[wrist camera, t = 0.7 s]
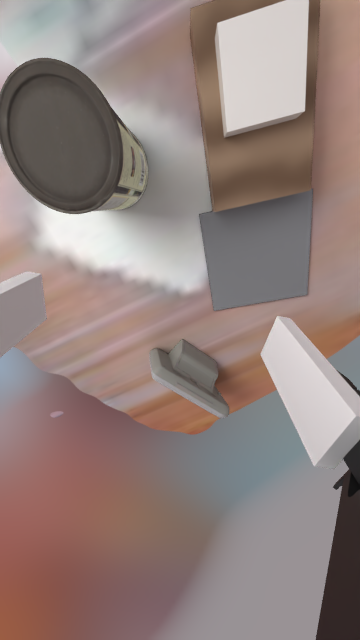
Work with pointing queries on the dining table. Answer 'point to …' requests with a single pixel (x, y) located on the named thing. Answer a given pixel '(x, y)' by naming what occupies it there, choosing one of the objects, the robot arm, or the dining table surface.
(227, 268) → the mat
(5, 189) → the dining table surface
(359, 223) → the dining table surface
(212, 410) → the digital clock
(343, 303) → the dining table surface
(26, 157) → the coffee can
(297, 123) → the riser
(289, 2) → the coaster
